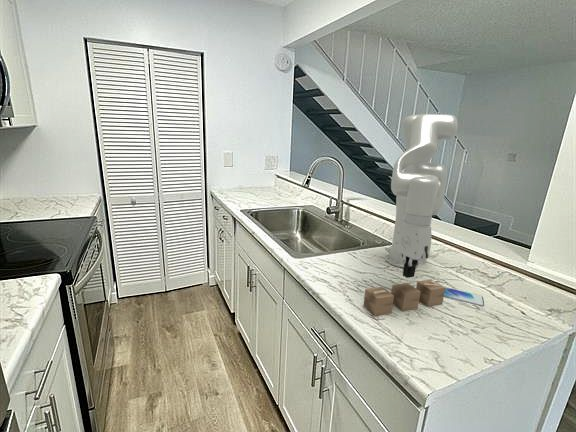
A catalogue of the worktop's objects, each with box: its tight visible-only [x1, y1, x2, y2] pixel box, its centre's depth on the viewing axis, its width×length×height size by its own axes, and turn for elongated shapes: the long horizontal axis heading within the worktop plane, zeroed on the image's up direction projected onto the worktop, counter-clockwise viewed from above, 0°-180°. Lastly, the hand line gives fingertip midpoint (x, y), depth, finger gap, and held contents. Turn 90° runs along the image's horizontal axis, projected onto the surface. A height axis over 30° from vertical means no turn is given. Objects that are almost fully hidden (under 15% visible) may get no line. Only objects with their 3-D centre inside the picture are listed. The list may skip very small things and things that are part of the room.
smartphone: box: [444, 286, 485, 307], centre depth 108 cm, size 7×1×15 cm
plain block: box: [390, 282, 421, 312], centre depth 100 cm, size 6×6×6 cm
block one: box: [363, 286, 394, 317], centre depth 96 cm, size 6×6×6 cm
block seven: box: [415, 279, 446, 307], centre depth 103 cm, size 6×6×6 cm
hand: (408, 276), depth 98 cm, fingers closed
